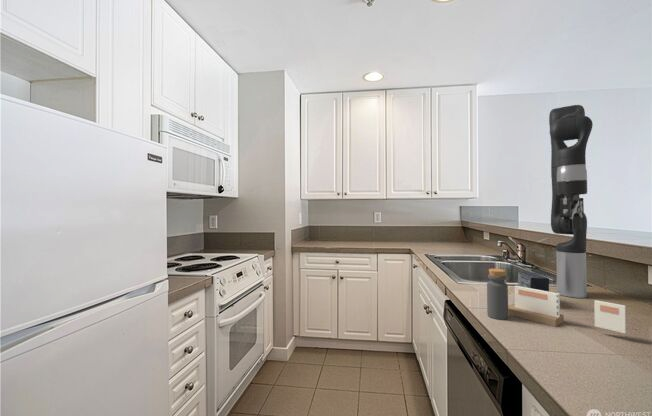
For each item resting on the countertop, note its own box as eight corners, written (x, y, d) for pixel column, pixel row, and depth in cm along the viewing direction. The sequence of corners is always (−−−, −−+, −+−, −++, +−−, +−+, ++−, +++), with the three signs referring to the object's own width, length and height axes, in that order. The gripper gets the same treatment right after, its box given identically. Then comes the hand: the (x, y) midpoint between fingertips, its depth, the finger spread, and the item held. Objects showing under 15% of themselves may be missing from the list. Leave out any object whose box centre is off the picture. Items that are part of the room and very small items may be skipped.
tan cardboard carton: (504, 313, 99) (503, 286, 99) (513, 309, 103) (513, 283, 103) (555, 326, 87) (554, 295, 87) (563, 321, 91) (563, 291, 91)
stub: (594, 326, 82) (594, 300, 82) (595, 325, 83) (595, 300, 83) (624, 333, 77) (624, 306, 78) (625, 332, 78) (625, 305, 78)
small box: (551, 308, 104) (550, 277, 104) (530, 306, 105) (529, 277, 105) (536, 299, 114) (535, 271, 114) (517, 298, 116) (516, 271, 116)
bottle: (508, 321, 92) (507, 272, 92) (486, 317, 95) (486, 270, 95) (508, 315, 97) (507, 269, 97) (488, 312, 100) (487, 267, 100)
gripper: (564, 181, 103) (565, 228, 103) (549, 180, 95) (550, 231, 95) (593, 179, 97) (594, 229, 97) (579, 178, 89) (580, 232, 89)
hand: (572, 230), depth 96 cm, fingers open, 8 cm apart
